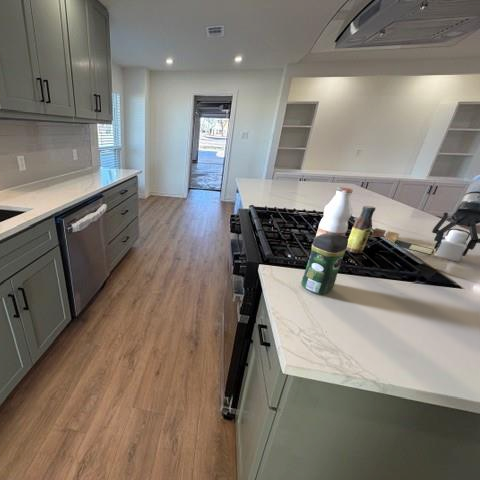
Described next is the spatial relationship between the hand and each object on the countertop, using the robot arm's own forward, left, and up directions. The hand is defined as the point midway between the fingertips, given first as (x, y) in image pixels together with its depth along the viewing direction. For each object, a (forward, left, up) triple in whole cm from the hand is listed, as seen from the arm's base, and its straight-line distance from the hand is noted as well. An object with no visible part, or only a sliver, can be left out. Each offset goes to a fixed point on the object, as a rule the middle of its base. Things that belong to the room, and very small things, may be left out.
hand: (449, 250), depth 104 cm
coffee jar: (+24, +68, -4) cm, 72 cm away
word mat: (+16, -3, -4) cm, 16 cm away
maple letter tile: (+19, -3, -3) cm, 20 cm away
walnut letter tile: (+24, -3, -3) cm, 24 cm away
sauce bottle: (+26, +24, -4) cm, 35 cm away
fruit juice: (+32, +40, -4) cm, 51 cm away
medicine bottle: (0, -3, -4) cm, 5 cm away
